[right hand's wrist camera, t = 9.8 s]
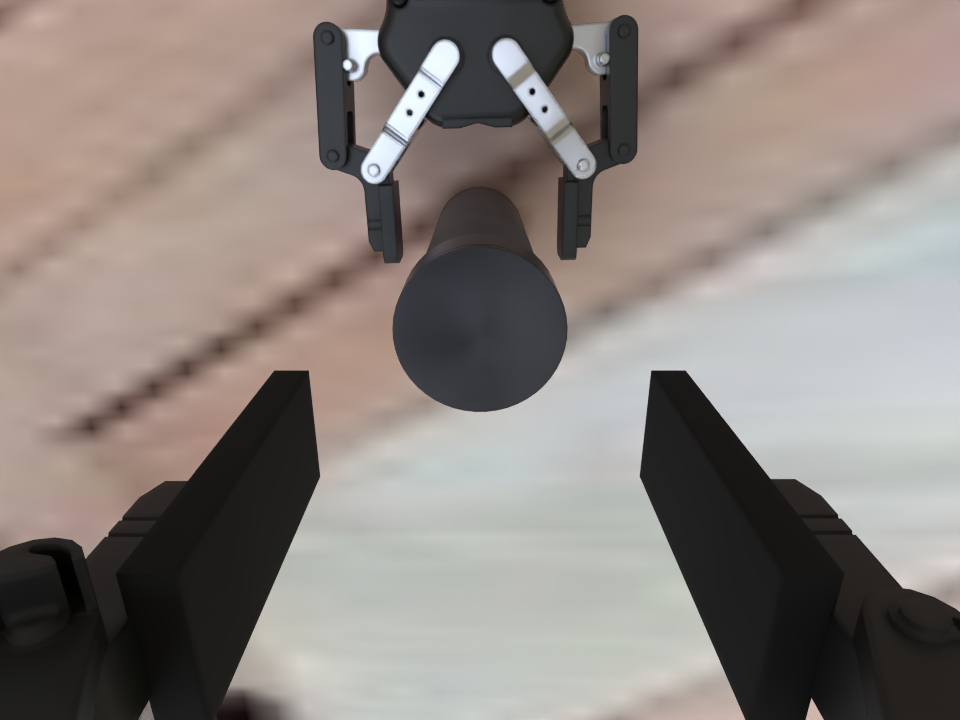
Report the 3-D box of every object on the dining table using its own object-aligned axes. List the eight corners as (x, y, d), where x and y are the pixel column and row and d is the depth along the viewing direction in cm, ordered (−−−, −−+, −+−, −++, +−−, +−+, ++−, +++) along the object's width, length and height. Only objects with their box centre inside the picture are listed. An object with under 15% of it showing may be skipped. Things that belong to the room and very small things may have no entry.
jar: (420, 227, 37) (372, 323, 21) (483, 168, 36) (486, 220, 19) (476, 288, 38) (473, 424, 22) (539, 234, 37) (586, 335, 21)
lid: (367, 306, 22) (355, 327, 20) (486, 198, 21) (488, 208, 19) (473, 412, 24) (473, 442, 22) (591, 318, 22) (602, 340, 20)
